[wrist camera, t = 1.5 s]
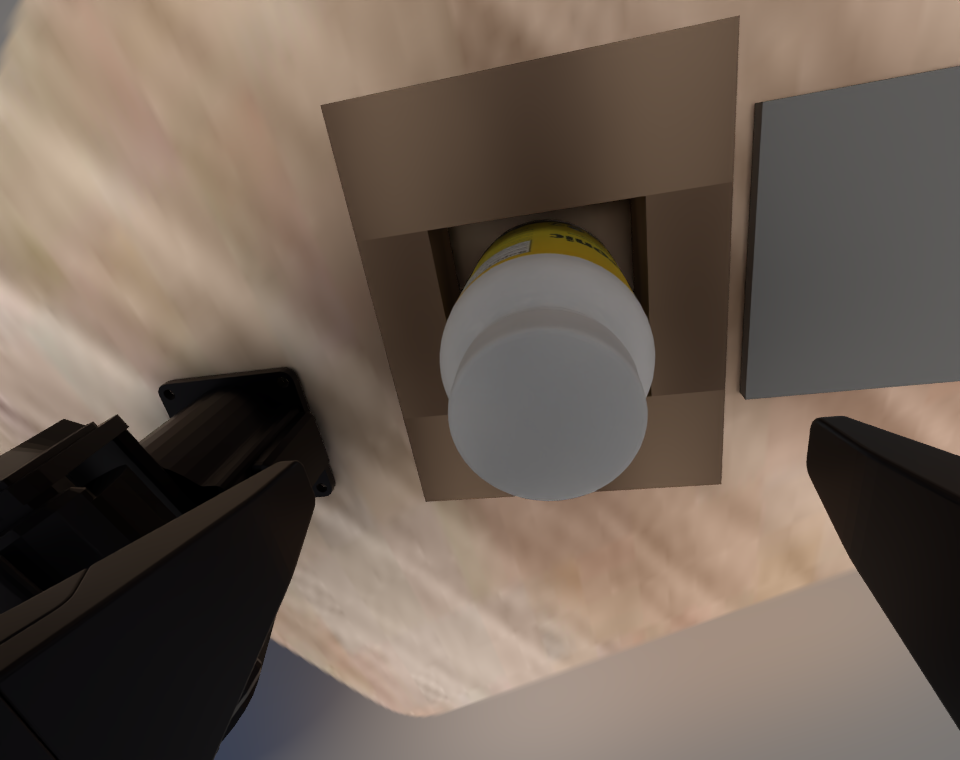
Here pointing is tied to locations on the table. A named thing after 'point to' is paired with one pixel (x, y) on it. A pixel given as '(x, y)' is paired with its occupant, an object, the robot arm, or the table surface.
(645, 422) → the supplement bottle
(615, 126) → the pocket holder
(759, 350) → the coaster
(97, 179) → the table surface
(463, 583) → the table surface
